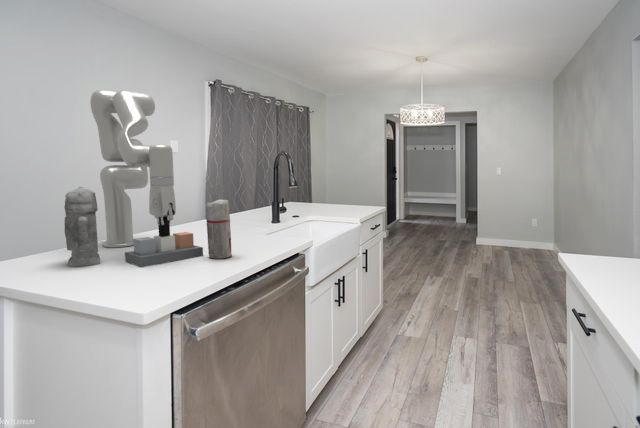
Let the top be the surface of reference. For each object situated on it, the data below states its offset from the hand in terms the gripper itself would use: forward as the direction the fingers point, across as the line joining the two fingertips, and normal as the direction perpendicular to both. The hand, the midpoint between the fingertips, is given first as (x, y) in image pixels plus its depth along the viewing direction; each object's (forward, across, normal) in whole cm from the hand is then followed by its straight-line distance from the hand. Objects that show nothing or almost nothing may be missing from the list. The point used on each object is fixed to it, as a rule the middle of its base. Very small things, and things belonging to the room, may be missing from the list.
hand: (164, 236), depth 144 cm
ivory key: (+6, 0, 0) cm, 6 cm away
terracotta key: (+6, 0, +7) cm, 9 cm away
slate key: (+6, 0, -7) cm, 9 cm away
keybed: (+8, 0, 0) cm, 8 cm away
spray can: (+8, +12, +14) cm, 20 cm away
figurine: (+8, -14, -21) cm, 27 cm away
